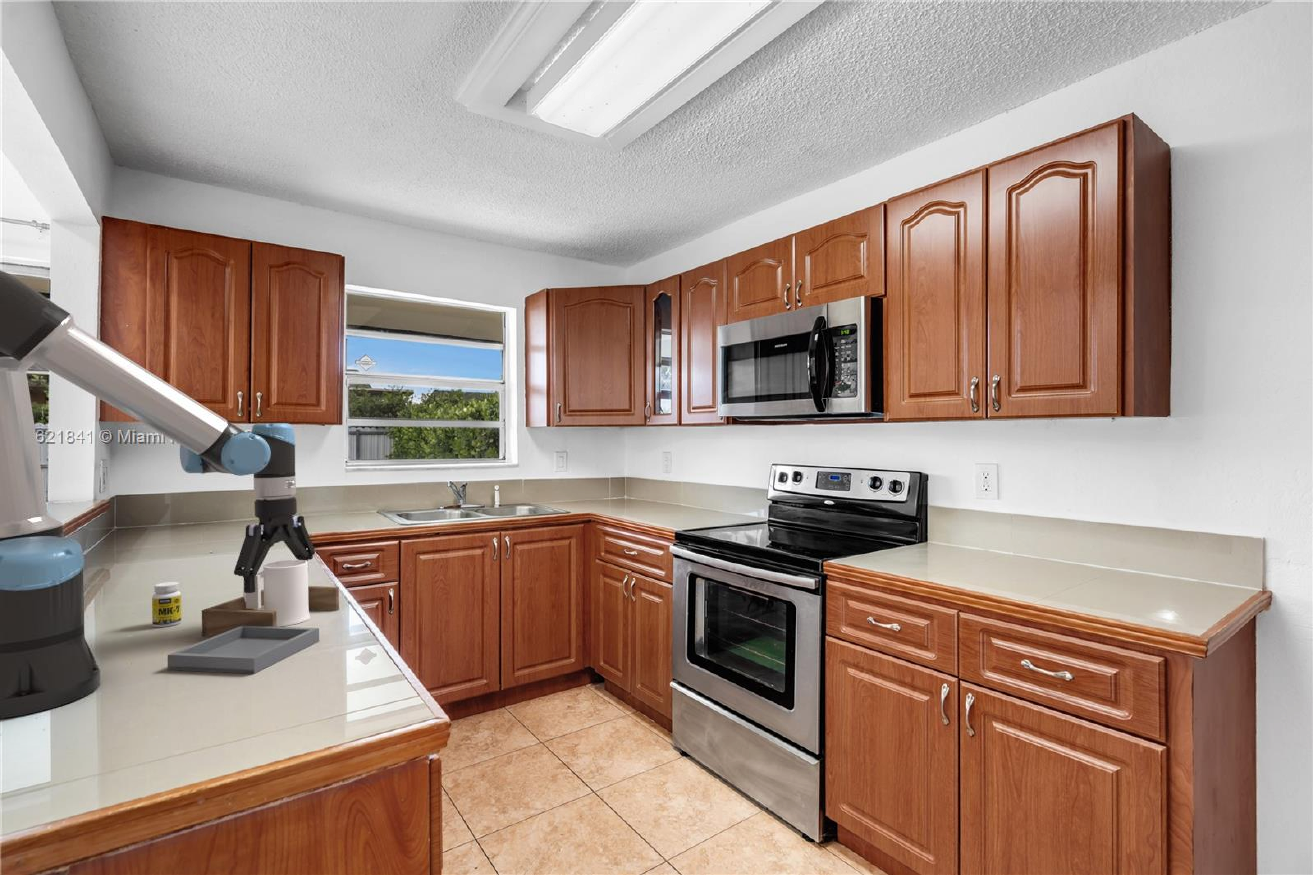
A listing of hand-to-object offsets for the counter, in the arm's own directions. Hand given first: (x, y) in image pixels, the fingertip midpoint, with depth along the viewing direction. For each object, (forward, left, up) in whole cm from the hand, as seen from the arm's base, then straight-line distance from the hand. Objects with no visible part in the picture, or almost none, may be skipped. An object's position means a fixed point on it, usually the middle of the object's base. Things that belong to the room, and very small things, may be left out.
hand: (278, 598), depth 132 cm
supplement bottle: (-4, +22, -5) cm, 23 cm away
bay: (0, 0, -5) cm, 5 cm away
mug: (0, 0, -5) cm, 5 cm away
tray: (-19, -9, -5) cm, 21 cm away
